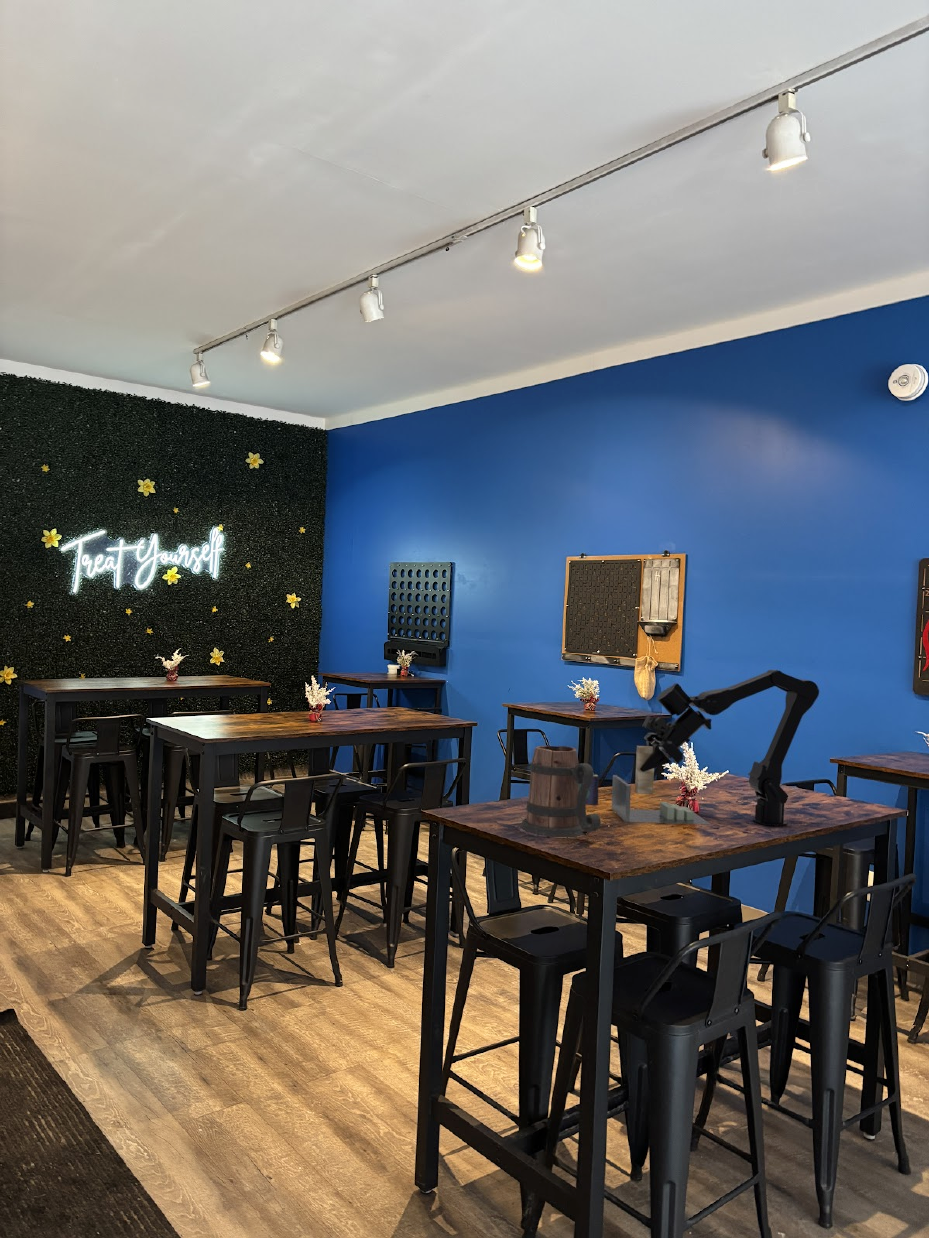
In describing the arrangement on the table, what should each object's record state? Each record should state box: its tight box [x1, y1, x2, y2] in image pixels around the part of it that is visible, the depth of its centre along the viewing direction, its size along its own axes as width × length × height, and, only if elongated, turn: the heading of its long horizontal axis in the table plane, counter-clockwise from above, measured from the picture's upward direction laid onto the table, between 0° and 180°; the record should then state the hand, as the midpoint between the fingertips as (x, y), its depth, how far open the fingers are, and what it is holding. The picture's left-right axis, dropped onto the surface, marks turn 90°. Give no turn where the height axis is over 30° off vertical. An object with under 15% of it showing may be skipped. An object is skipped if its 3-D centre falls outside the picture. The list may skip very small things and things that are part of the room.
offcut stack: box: [659, 801, 695, 820], centre depth 242 cm, size 7×7×3 cm
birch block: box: [634, 745, 655, 795], centre depth 242 cm, size 4×3×12 cm
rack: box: [611, 774, 712, 825], centre depth 242 cm, size 22×16×10 cm
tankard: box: [519, 745, 602, 838], centre depth 222 cm, size 24×17×20 cm
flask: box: [579, 769, 600, 806], centre depth 256 cm, size 9×3×11 cm, turn 65°
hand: (639, 769), depth 242 cm, fingers closed on birch block, 3 cm apart
